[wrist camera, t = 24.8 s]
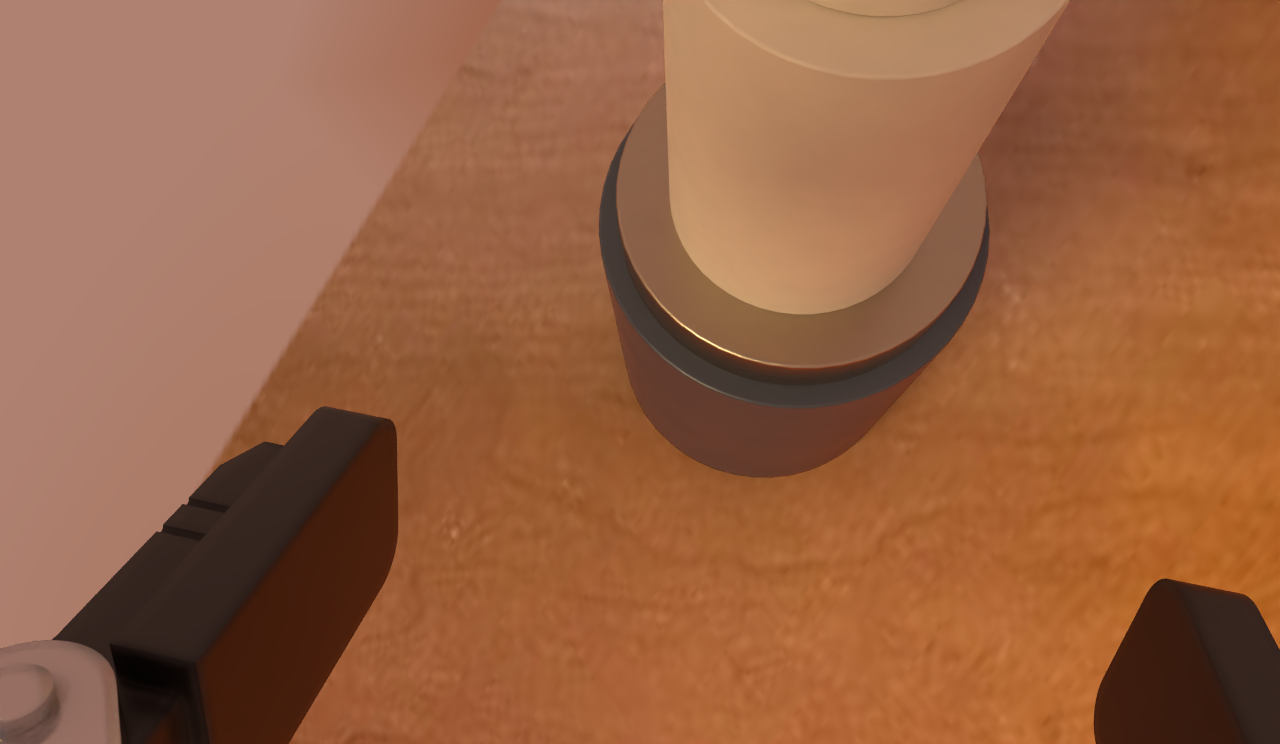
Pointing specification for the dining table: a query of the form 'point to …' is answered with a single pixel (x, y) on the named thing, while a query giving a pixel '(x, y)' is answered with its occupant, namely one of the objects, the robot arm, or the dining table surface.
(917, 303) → the slate jar
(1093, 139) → the dining table surface
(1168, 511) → the dining table surface
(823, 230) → the cream bottle
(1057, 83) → the dining table surface
